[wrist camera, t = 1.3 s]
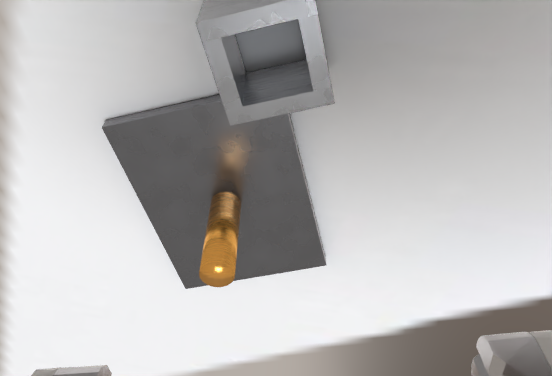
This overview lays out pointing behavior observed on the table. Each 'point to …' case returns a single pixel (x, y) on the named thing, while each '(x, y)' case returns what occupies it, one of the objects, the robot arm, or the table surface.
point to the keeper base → (220, 191)
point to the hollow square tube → (272, 81)
